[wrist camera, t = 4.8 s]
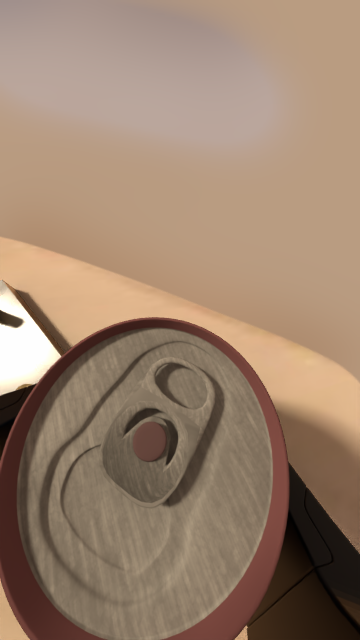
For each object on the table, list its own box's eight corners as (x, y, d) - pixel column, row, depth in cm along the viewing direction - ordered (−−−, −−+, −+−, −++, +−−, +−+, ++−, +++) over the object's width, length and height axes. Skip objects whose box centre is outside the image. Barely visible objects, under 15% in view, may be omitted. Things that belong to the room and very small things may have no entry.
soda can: (181, 490, 12) (239, 1066, 2) (104, 430, 14) (-147, 529, 3) (223, 397, 15) (352, 382, 4) (155, 355, 16) (122, 260, 6)
